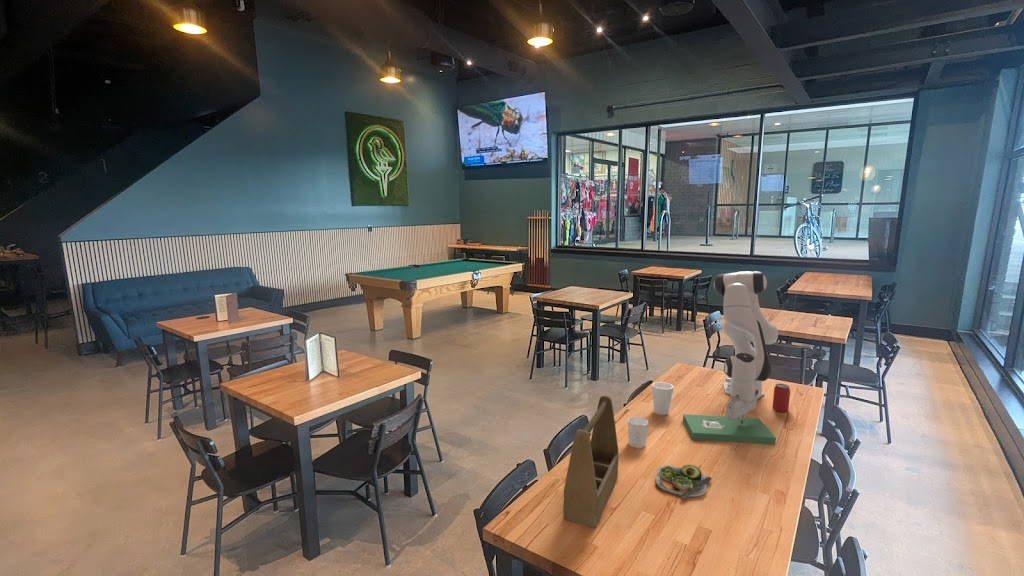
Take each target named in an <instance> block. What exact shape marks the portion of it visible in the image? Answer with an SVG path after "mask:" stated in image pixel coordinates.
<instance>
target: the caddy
mask: <svg viewBox="0 0 1024 576" xmlns="http://www.w3.org/2000/svg"><path fill="white" fill-rule="evenodd" d="M591 432H592V433H591ZM590 433H591V436H590ZM590 437H591V438H590ZM618 443H619V442H618V438H617V428H616V421H615V414H614V406H613V399H612V398H611V397H610V396H609V395H601V396H600V398H599V401H598V404H597V409H596V411H595V413H594V415H593V416H592V418H590V420H589V421H588V423H587V424H586V426H585V427H584V429H581V428H580V429H577V430H576V432H575V434H574V437H573V442H572V446H571V447H572V448H571V450H570V458H569V463H568V466H567V467H568V468H567V472H566V476H565V477H566V478H565V483H564V489H563V517H562V518H563V520H565V521H568V522H572V523H576V524H579V525H582V526H586V527H590V528H593V529H597V527H598V525H599V522H600V520H601V517H602V515H603V512H604V510H605V508H606V505H607V503H608V501H609V499H610V496H611V494H612V493H613V490H614V487H615V485H616V482H617V481H618V476H619V457H620V456H619V446H618Z"/></svg>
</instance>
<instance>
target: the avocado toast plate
mask: <svg viewBox="0 0 1024 576" xmlns="http://www.w3.org/2000/svg"><path fill="white" fill-rule="evenodd" d="M663 480H664V481H666V482H668V483H671V484H672V486H673V488H668V487H667V486H665V484H664V482H663ZM710 481H712V478H711V476H705V475H704V474H702V472H701V469H700V468H699V467H698V466H696V465H694V464H685V465H683V466H682V467H679V466H674V465H663V466H660V467H658V469H657V471H656V476H655V484H656V485H657V486H658V488H659V489H661V490H662V491H663V492H665V493H667V494H669V495H673V496H678V497H679V498H680V499H682V500H685V499H688V498H697V497H698V498H699V497H701V496H704V495H705V494H706V492H707V484H709V483H710Z"/></svg>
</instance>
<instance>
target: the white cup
mask: <svg viewBox="0 0 1024 576" xmlns="http://www.w3.org/2000/svg"><path fill="white" fill-rule="evenodd" d="M648 431H649V420H648V419H646V418H645V417H641V416H631V417H629V418H628V419H627V437H628V445H629V446H630V447H632V448H636V449H643V448H645V447H646V446H647V445H646V444H647V437H648Z"/></svg>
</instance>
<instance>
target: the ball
mask: <svg viewBox="0 0 1024 576" xmlns="http://www.w3.org/2000/svg"><path fill="white" fill-rule="evenodd" d="M709 427H719V425H718V424H717V423H716V422H710V423H709Z"/></svg>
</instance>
